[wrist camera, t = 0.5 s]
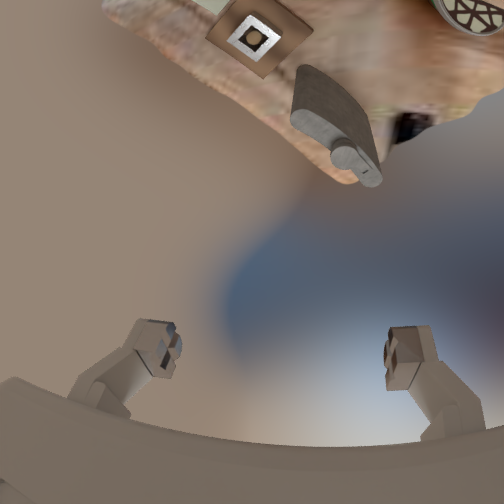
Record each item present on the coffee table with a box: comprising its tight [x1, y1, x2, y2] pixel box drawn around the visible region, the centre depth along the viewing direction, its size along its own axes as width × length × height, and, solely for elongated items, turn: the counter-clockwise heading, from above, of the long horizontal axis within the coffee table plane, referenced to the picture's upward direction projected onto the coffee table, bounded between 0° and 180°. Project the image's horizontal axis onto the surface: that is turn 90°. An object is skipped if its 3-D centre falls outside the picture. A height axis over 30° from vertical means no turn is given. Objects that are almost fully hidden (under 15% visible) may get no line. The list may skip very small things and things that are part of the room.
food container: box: [428, 0, 504, 36], centre depth 26 cm, size 12×6×10 cm, turn 96°
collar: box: [227, 11, 283, 62], centre depth 38 cm, size 6×6×4 cm
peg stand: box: [205, 0, 313, 79], centre depth 39 cm, size 12×12×6 cm
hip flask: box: [290, 65, 382, 187], centre depth 42 cm, size 16×4×20 cm, turn 54°
